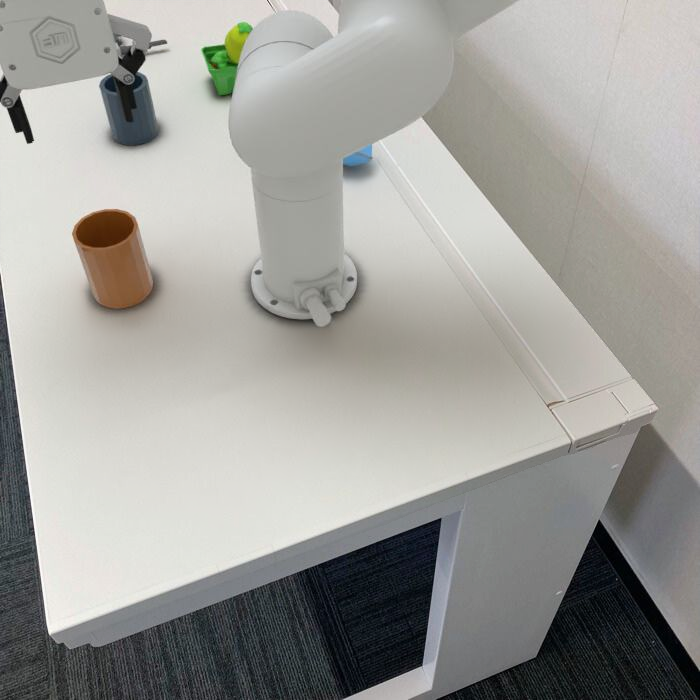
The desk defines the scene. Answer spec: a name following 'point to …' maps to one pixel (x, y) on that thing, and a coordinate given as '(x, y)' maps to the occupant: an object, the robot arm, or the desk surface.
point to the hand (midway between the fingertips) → (79, 125)
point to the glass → (113, 258)
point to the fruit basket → (226, 58)
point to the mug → (142, 116)
